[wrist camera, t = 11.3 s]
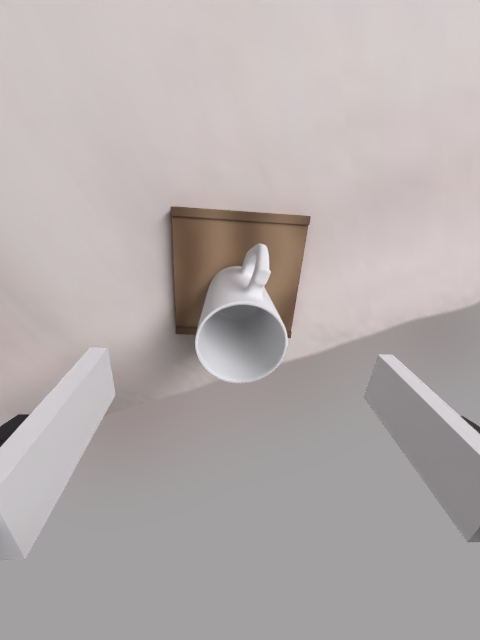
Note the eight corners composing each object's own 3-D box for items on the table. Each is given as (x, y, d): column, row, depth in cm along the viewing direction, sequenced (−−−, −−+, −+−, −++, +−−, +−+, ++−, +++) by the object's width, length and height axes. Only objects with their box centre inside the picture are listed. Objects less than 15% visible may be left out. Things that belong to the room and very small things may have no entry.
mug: (253, 326, 32) (268, 391, 21) (199, 311, 30) (185, 372, 19) (284, 244, 28) (322, 272, 17) (224, 224, 27) (222, 239, 16)
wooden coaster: (177, 328, 32) (175, 333, 31) (173, 206, 27) (170, 206, 25) (287, 332, 33) (290, 337, 32) (306, 215, 28) (310, 216, 26)
